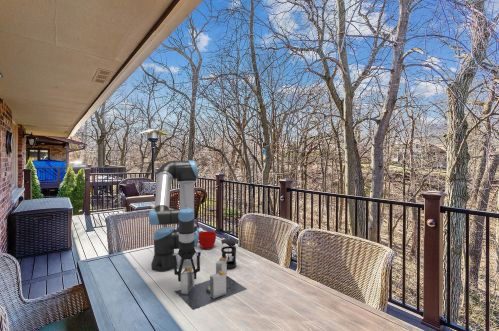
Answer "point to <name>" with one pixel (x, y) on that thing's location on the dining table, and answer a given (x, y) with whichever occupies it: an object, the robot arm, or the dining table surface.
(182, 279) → the orange and grey block
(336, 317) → the dining table surface
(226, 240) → the french press
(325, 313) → the dining table surface
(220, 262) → the white yellow slab
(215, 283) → the banded metal block
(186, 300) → the board
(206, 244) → the ceramic cup
